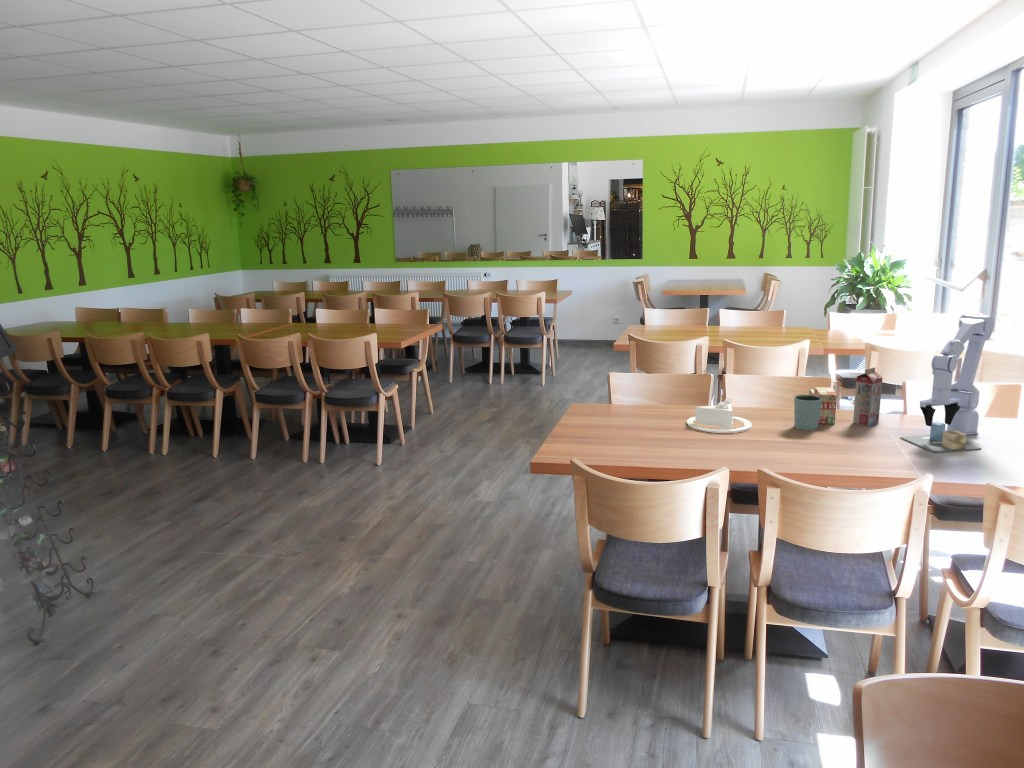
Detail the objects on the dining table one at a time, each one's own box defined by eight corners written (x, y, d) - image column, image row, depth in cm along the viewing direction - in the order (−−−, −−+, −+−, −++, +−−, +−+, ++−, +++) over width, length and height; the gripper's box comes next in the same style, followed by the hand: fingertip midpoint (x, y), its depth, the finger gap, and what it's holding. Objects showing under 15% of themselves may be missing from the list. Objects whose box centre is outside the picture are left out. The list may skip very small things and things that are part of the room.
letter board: (944, 435, 280) (944, 433, 280) (981, 449, 263) (981, 448, 263) (900, 438, 278) (900, 437, 278) (934, 453, 260) (934, 451, 260)
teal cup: (791, 429, 292) (793, 399, 289) (792, 422, 301) (794, 393, 298) (820, 432, 288) (822, 401, 285) (820, 425, 297) (822, 395, 294)
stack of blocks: (807, 410, 319) (809, 381, 317) (823, 410, 318) (825, 382, 315) (818, 424, 299) (820, 393, 296) (835, 424, 298) (837, 394, 295)
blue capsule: (937, 437, 276) (939, 421, 274) (946, 441, 271) (948, 425, 270) (926, 438, 275) (928, 422, 273) (935, 442, 270) (937, 426, 269)
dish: (747, 418, 310) (748, 391, 308) (755, 435, 286) (756, 406, 284) (685, 416, 315) (686, 390, 312) (688, 433, 291) (689, 405, 288)
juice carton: (878, 423, 297) (883, 368, 292) (868, 426, 293) (873, 370, 289) (862, 420, 302) (866, 366, 298) (852, 422, 299) (857, 368, 294)
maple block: (954, 444, 268) (956, 430, 267) (965, 448, 263) (966, 434, 262) (941, 445, 267) (943, 431, 266) (952, 449, 262) (953, 435, 261)
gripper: (952, 384, 274) (948, 420, 277) (915, 386, 272) (912, 423, 275) (966, 388, 267) (962, 425, 270) (929, 391, 265) (925, 428, 268)
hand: (938, 424), depth 272 cm, fingers open, 7 cm apart
